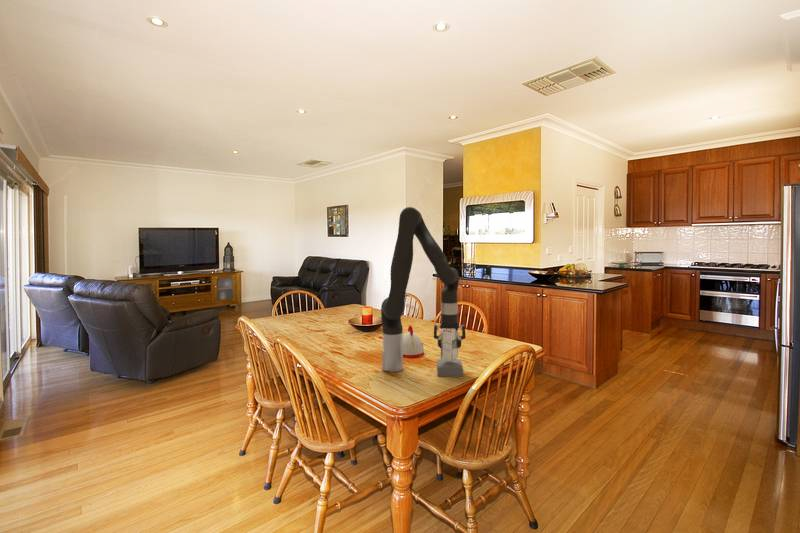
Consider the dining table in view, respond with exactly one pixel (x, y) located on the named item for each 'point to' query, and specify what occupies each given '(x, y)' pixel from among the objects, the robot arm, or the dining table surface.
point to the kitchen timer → (412, 344)
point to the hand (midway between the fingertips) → (449, 347)
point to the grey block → (449, 368)
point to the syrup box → (449, 344)
